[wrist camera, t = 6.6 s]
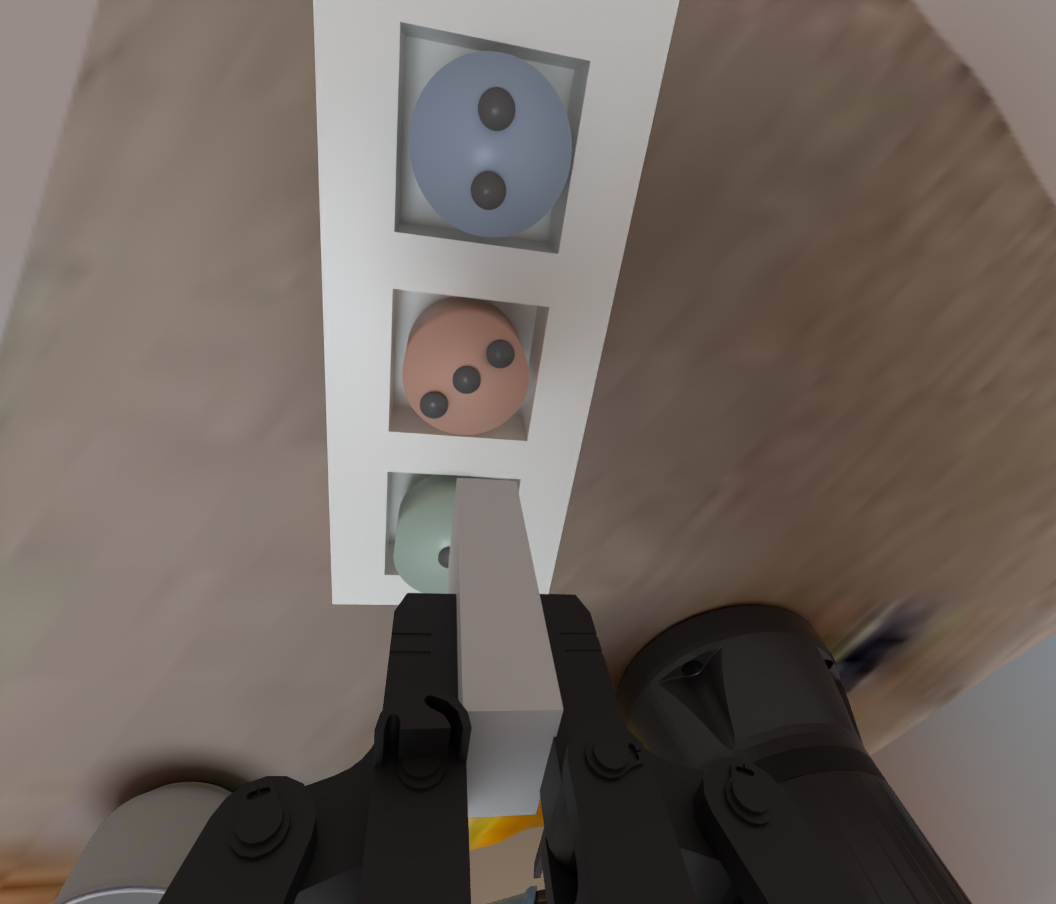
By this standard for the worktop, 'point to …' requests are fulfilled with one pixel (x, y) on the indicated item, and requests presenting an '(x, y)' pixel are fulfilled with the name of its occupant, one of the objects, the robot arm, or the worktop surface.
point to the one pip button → (426, 533)
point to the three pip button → (464, 367)
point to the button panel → (467, 255)
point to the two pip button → (490, 144)
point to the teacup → (142, 846)
